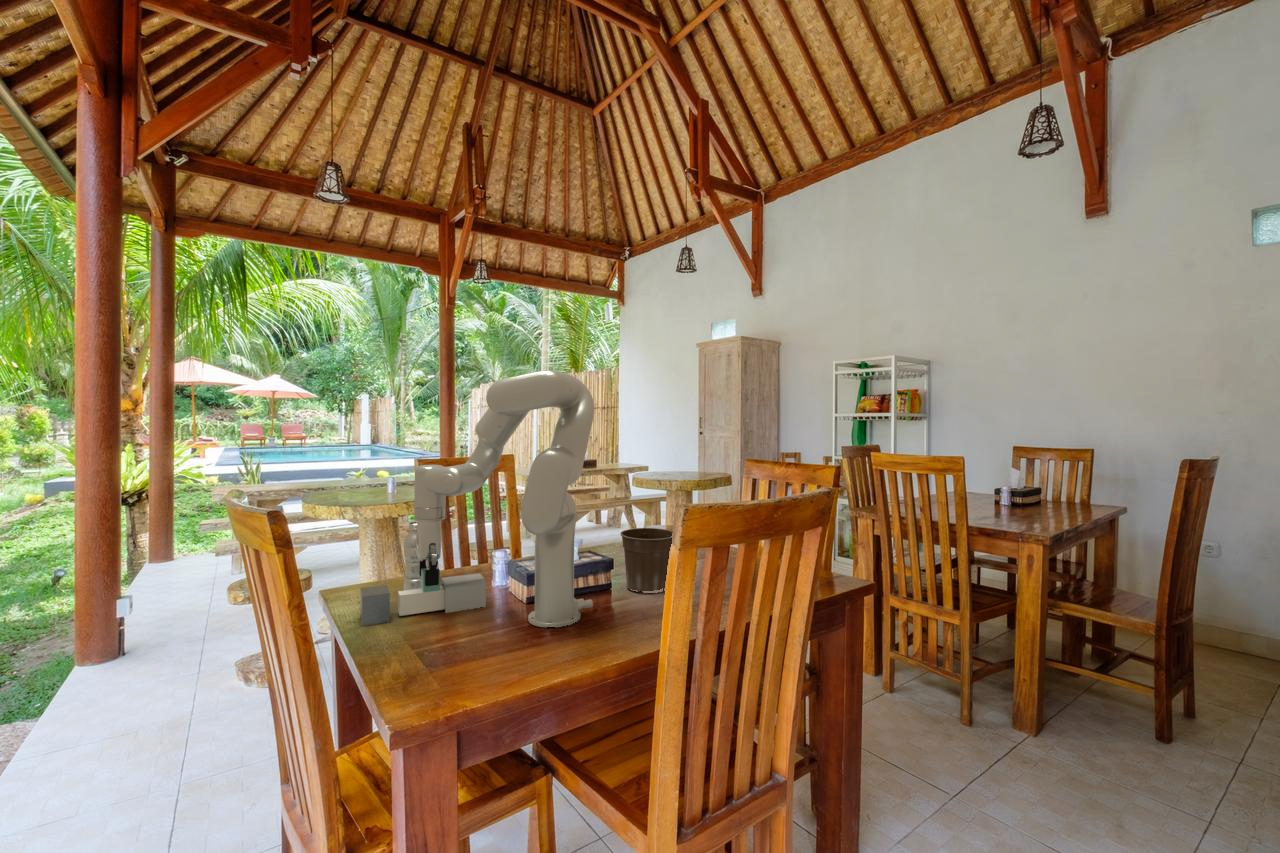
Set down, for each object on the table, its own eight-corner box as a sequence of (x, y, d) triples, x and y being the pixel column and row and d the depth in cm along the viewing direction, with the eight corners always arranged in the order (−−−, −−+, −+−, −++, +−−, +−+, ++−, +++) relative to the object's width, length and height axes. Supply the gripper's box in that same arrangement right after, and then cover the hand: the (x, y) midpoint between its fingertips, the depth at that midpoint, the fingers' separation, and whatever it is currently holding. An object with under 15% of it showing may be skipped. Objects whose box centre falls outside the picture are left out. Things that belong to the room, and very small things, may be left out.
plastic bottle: (432, 590, 163) (432, 520, 163) (421, 598, 156) (421, 525, 156) (411, 590, 164) (410, 520, 164) (398, 597, 157) (398, 524, 157)
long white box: (476, 599, 153) (476, 562, 153) (480, 604, 150) (480, 565, 150) (397, 611, 144) (397, 571, 144) (399, 615, 140) (399, 575, 140)
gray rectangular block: (479, 599, 155) (479, 573, 155) (485, 607, 149) (485, 579, 149) (440, 605, 150) (440, 577, 150) (445, 613, 144) (445, 584, 144)
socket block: (386, 612, 145) (386, 584, 144) (389, 622, 138) (389, 593, 137) (360, 616, 142) (360, 588, 142) (362, 626, 135) (362, 596, 135)
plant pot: (687, 591, 163) (687, 534, 163) (639, 600, 155) (639, 540, 154) (656, 578, 177) (656, 525, 177) (610, 585, 168) (610, 531, 168)
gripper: (410, 509, 151) (408, 573, 152) (418, 519, 136) (417, 591, 136) (439, 507, 155) (438, 570, 155) (451, 517, 140) (450, 587, 140)
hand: (428, 580), depth 146 cm, fingers open, 9 cm apart
